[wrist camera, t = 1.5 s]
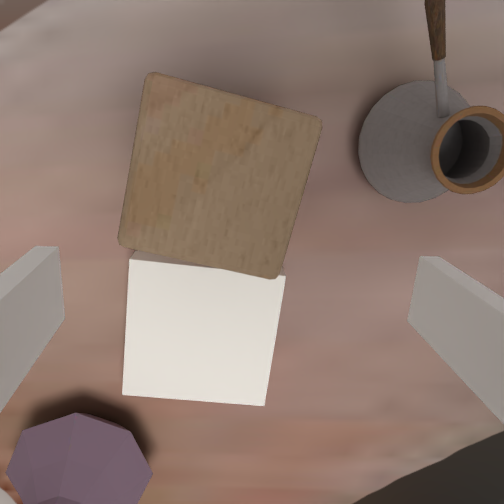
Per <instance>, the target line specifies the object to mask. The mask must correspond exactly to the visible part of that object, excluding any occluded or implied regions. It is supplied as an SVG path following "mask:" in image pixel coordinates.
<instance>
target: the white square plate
mask: <svg viewBox="0 0 504 504" xmlns="http://www.w3.org/2000/svg"><path fill="white" fill-rule="evenodd" d="M285 279H286V275H285V272H284V269H283V267H282V268H281V271H280V274H279V275H278V277H277V278H276V279H271V280H269V279H265V278H260V277H256V276H251V275H247V274H242V273H238V272H233V271H229V270H224V269H220V268H215V267H211V266H206V265H202V264H197V263H193V262H188V261H184V260H179V259H175V258H170V257H166V256H161V255H157V254H152V253H148V252H143V251H137V250H136V251H135V252H134V253H133V255H132V256H131V258H130V259H129V278H128V297H127V315H126V334H125V353H124V372H123V390H122V395H131V396H144V397H156V398H169V399H182V400H194V401H207V402H219V403H232V404H245V405H257V406H264V404H265V398H266V392H267V386H268V380H269V374H270V368H271V362H272V357H273V351H274V345H275V339H276V333H277V327H278V321H279V315H280V309H281V303H282V297H283V291H284V285H285Z"/></svg>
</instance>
